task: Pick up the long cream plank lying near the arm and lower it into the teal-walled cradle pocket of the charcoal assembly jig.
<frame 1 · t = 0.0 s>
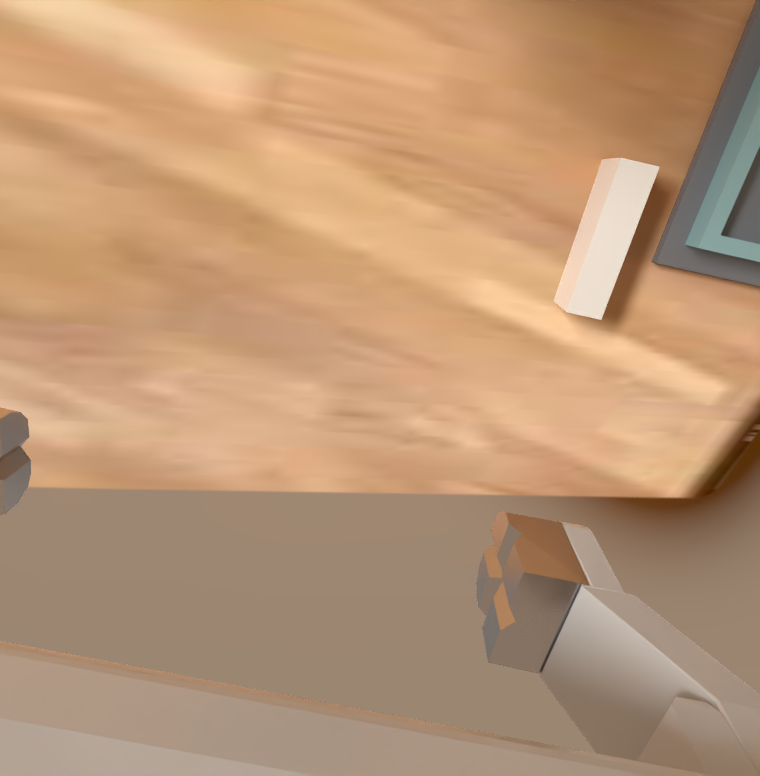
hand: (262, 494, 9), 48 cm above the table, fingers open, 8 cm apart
long cream plank: (592, 237, 53), on the table
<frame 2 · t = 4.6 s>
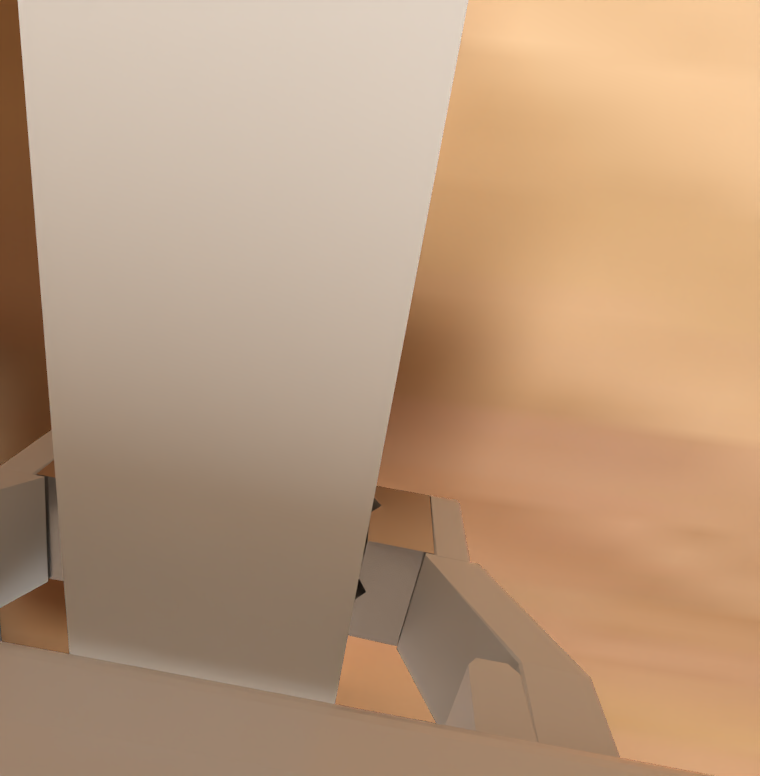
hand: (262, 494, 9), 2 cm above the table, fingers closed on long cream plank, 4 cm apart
long cream plank: (289, 437, 11), on the table, touching gripper
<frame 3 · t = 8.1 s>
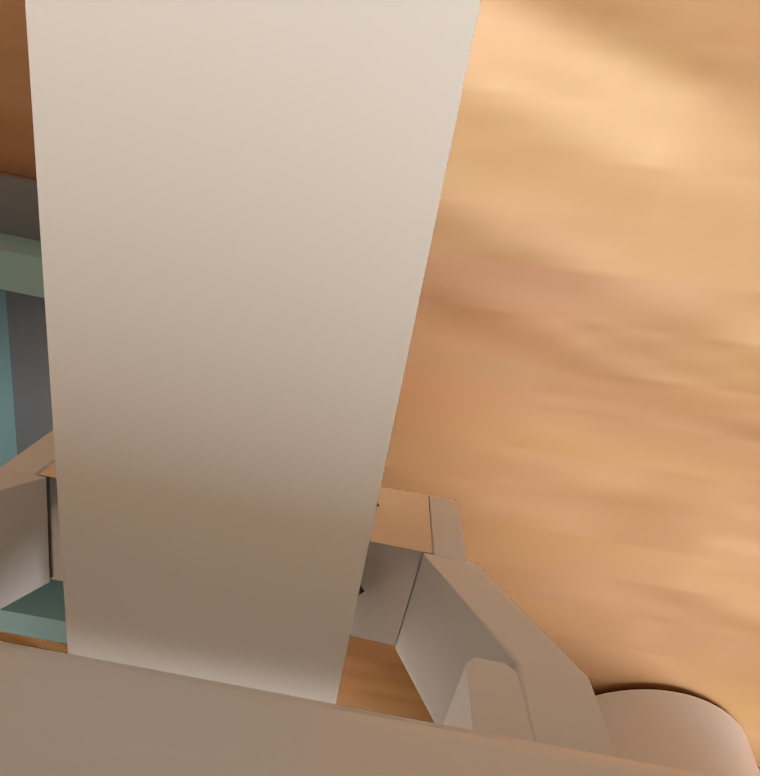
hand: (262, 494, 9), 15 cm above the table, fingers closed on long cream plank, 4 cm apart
long cream plank: (289, 437, 11), point 13 cm above the table, touching gripper
cradle jig: (90, 442, 26), on the table
when the fingers open (5 cm above the table, at t = 11.9 s): long cream plank drops 2 cm, resting on cradle jig.
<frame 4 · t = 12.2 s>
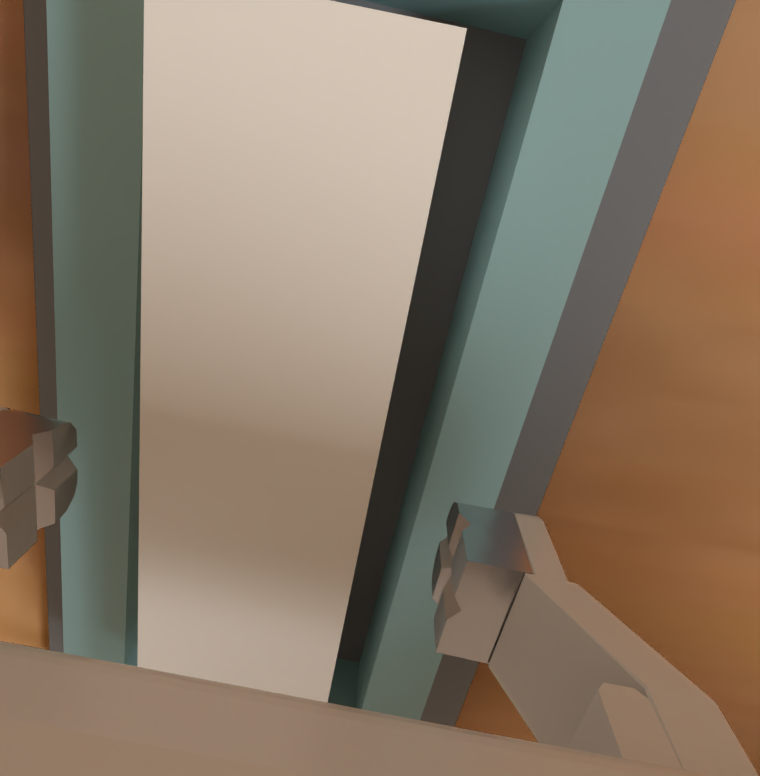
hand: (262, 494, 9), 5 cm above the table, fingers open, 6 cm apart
long cream plank: (305, 400, 13), point 1 cm above the table, touching cradle jig
cradle jig: (310, 384, 14), on the table
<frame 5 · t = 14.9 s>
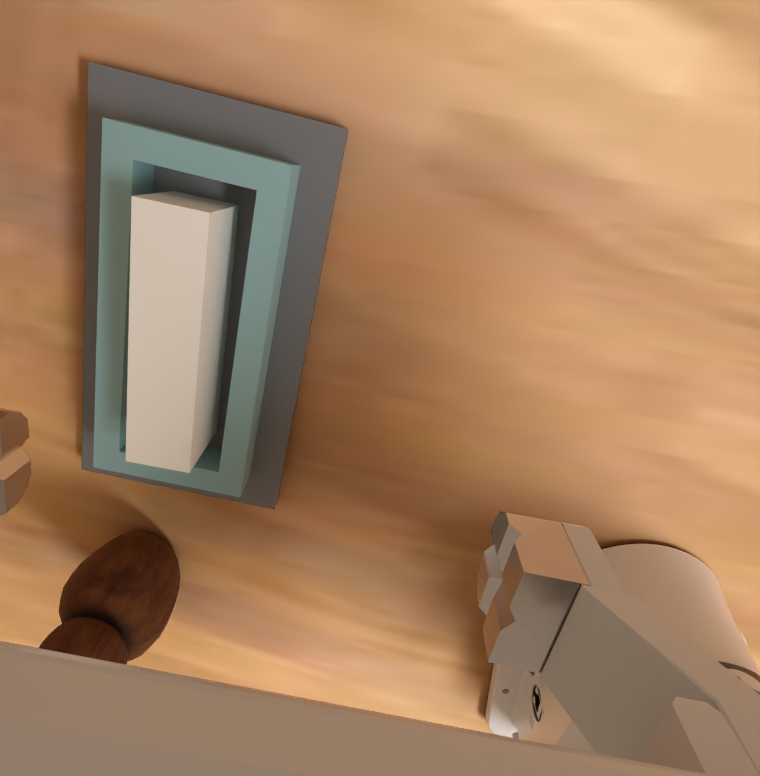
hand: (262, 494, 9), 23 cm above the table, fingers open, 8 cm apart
long cream plank: (197, 321, 31), point 1 cm above the table, touching cradle jig
cradle jig: (202, 317, 32), on the table
wooden figurine: (150, 552, 39), on the table
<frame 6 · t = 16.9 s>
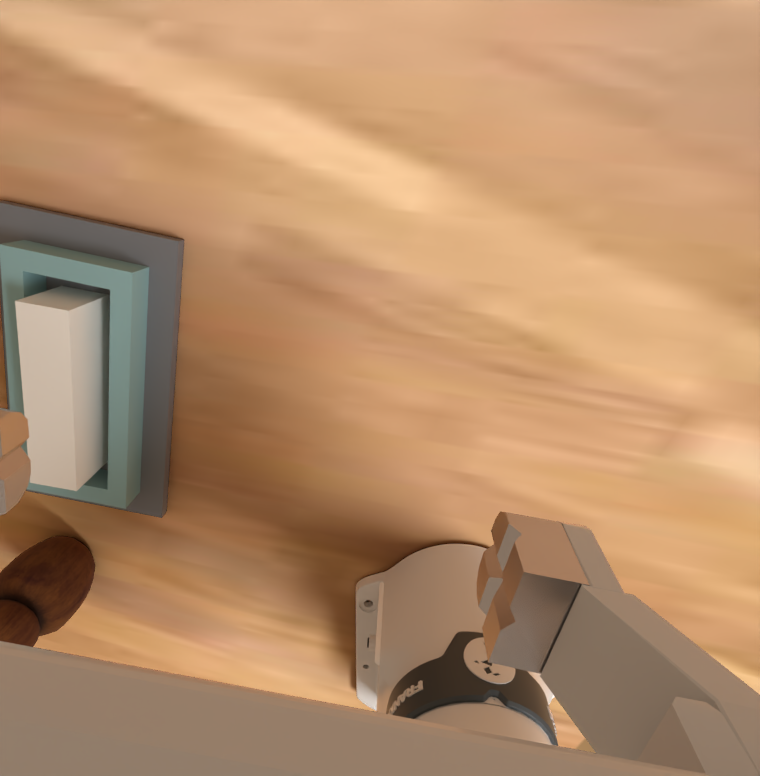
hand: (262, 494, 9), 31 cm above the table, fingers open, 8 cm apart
long cream plank: (88, 377, 42), point 1 cm above the table, touching cradle jig
cradle jig: (94, 372, 43), on the table
wooden figurine: (74, 552, 50), on the table
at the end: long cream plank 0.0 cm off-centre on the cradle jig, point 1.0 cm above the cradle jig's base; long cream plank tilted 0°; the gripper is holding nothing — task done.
